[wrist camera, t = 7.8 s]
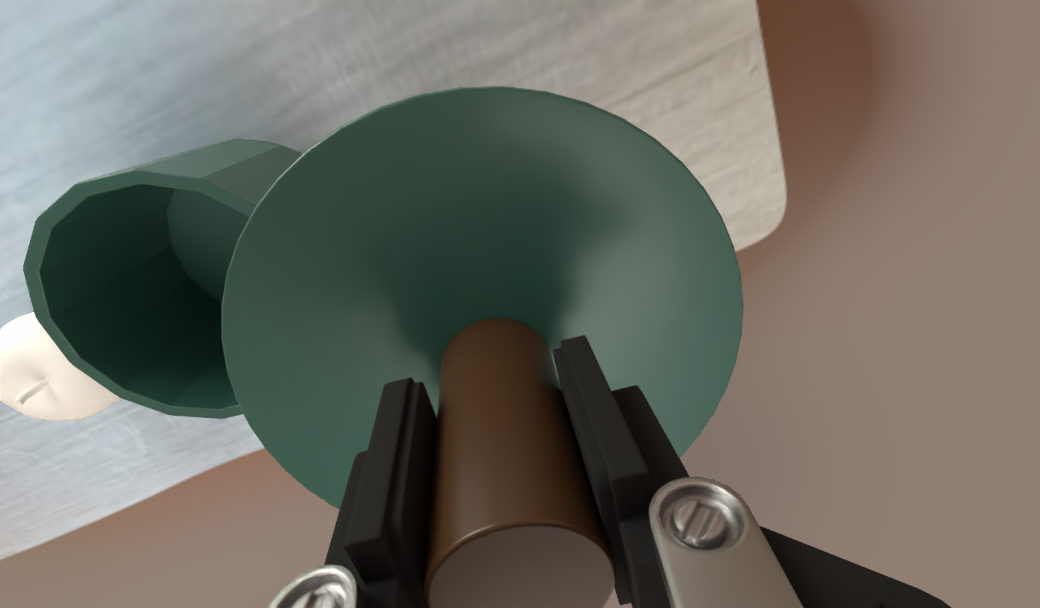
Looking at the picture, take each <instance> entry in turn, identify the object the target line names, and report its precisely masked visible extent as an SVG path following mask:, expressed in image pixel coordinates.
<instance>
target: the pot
mask: <svg viewBox="0 0 1040 608" xmlns="http://www.w3.org/2000/svg"><path fill="white" fill-rule="evenodd" d="M301 155H302V154H300V153H298V152H296V151H294V150H292V149H290V148H287V147H284V146H281V145H278V144H274V143H270V142H265V141H257V140H243V139H234V140H230V141H226V142H221V143H217V144H213V145H209V146H205V147H201V148H197V149H194V150H190V151H187V152H183V153H180V154H176V155H173V156H169V157H166V158H162V159H159V160H155V161H152V162H148V163H145V164H141V165H138V166H134V167H131V168H127V169H124V170H120V171H117V172H113V173H110V174H106V175H103V176H99V177H96V178H92V179H89V180H85V181H82V182H78V183H77V184H75V185H74V186H72V187H71V188H70V189H69V190H68V191H67V192H66V193H65V194H63V195H62V196H61V197H60V198H59V199H58V200H57V201H56V202H55V203H53V204H52V205H51V206H50V207H49V208H48V209H47V210H46V211H44V212H43V213H42V214H41V215H40V216H39V217H38V218H37V220H36V222H35V225H34V229H33V233H32V236H31V240H30V243H29V247H28V251H27V254H26V258H25V262H24V265H23V267H24V268H23V271H24V275H25V278H26V282H27V286H28V290H29V294H30V298H31V302H32V306H33V309H34V313H35V317H36V318H37V320H38V322H39V323H40V324H41V326H42V327H43V328H44V330H45V331H46V332H47V334H48V335H49V336H50V338H51V339H52V340H53V341H54V343H55V344H56V345H57V347H58V348H59V349H60V351H61V352H62V353H63V355H64V356H65V357H66V359H67V360H68V361H69V362H70V363H71V364H72V365H73V366H75V367H76V368H77V369H79V370H80V371H82V372H83V373H85V374H86V375H87V376H89V377H90V378H92V379H93V380H95V381H96V382H97V383H99V384H100V385H102V386H103V387H105V388H106V389H107V390H109V391H110V392H112V393H113V394H114V395H116V396H118V397H120V398H123V399H125V400H128V401H131V402H134V403H137V404H140V405H142V406H145V407H148V408H151V409H154V410H157V411H159V412H162V413H165V414H168V415H173V416H188V417H203V418H218V419H223V418H228V417H233V416H237V415H241V414H244V413H243V411H242V409H241V407H240V406H239V404H238V402H237V400H236V397H235V394H234V391H233V388H232V385H231V382H230V379H229V376H228V373H227V369H226V363H225V357H224V351H223V345H222V300H223V294H224V288H225V281H226V275H227V271H228V268H229V265H230V262H231V259H232V256H233V253H234V250H235V247H236V244H237V242H238V239H239V237H240V235H241V233H242V232H243V230H244V228H245V226H246V224H247V222H248V220H249V218H250V217H251V215H252V213H253V211H254V209H255V207H256V206H257V205H258V203H259V202H260V201H261V199H262V198H263V197H264V196H265V194H266V193H267V192H268V190H269V189H270V188H271V186H272V185H273V184H274V182H275V181H276V180H277V178H278V177H279V176H280V175H281V174H282V173H283V172H285V171H286V170H287V169H288V168H289V167H290V166H291V165H292V164H293V163H294V162H295V161H296V160H297V159H298V158H299V157H300V156H301Z"/></svg>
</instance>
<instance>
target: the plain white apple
mask: <svg viewBox="0 0 1040 608" xmlns="http://www.w3.org/2000/svg"><path fill="white" fill-rule="evenodd" d="M119 398H120V397H118V396H116V395H114V394H113V393H112V392H110V391H109V390H107V389H106V388H105V387H103V386H102V385H100V384H99V383H97V382H96V381H95V380H93V379H92V378H90V377H89V376H87V375H86V374H85V373H83V372H82V371H80V370H79V369H77V368H76V367H75V366H73V365H72V364H71V363H70V362H69V361H68V360H67V359H66V357H65V356H64V355H63V353H62V352H61V351H60V349H59V348H58V347H57V345H56V344H55V343H54V341H53V340H52V339H51V338H50V336H49V335H48V334H47V332H46V331H45V330H44V328H43V327H42V326H41V324H40V323H39V322H38V320H37V318H36V317H35V313H34V312H33V313H30V314H27V315H23V316H20V317H18V318H16V319H14V320H13V321H11V322H9V323H8V324H6V325H4V326H3V327H2V328H1V329H0V401H1V402H3V403H5V404H7V405H8V406H10V407H12V408H13V409H15V410H16V411H18V412H20V413H22V414H24V415H26V416H28V417H31V418H37V419H43V420H63V421H67V420H76V419H82V418H86V417H88V416H91V415H93V414H95V413H98V412H100V411H102V410H103V409H105V408H107V407H108V406H110V405H111V404H113V403H114V402H116V401H117V400H118V399H119Z"/></svg>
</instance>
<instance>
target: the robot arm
mask: <svg viewBox="0 0 1040 608" xmlns="http://www.w3.org/2000/svg"><path fill="white" fill-rule="evenodd" d="M553 355H554V360H555V364H556V369H557V373H558V378H559V382H560V387H561V391H562V395H563V398H564V401H565V404H566V408H567V411H568V414H569V418H570V421H571V424H572V427H573V431H574V434H575V437H576V440H577V444H578V447H579V450H580V453H581V457H582V460H583V463H584V466H585V470H586V473H587V476H588V479H589V483H590V486H591V489H592V492H593V496H594V499H595V502H596V505H597V509H598V512H599V515H600V518H601V522H602V525H603V528H604V532H605V535H606V538H607V541H608V543H609V545H610V548H611V551H612V554H613V557H614V561H615V564H616V580H615V586H614V587H615V591H616V594H617V598H618V601H619V604H620V605H624V604H628V603H631V604H632V607H633V608H951V607H950V606H948V605H947V604H946V603H944V602H943V601H942V600H940V599H938V598H936V597H934V596H932V595H930V594H928V593H926V592H924V591H922V590H920V589H918V588H915V587H913V586H910V585H908V584H905V583H903V582H900V581H898V580H895V579H893V578H890V577H888V576H885V575H882V574H880V573H877V572H875V571H872V570H870V569H867V568H865V567H862V566H860V565H857V564H855V563H852V562H850V561H847V560H844V559H842V558H839V557H837V556H834V555H832V554H829V553H827V552H824V551H822V550H819V549H817V548H814V547H812V546H809V545H807V544H804V543H802V542H799V541H797V540H794V539H792V538H789V537H786V536H784V535H781V534H779V533H776V532H774V531H771V530H769V529H766V528H764V527H761V526H759V525H758V523H757V522H756V520H755V518H754V516H753V514H752V513H751V510H750V508H749V507H748V505H747V504H746V503H745V501H744V500H743V499H742V497H741V496H740V495H739V494H738V493H736V492H735V491H734V490H732V489H731V488H730V487H728V486H727V485H725V484H722V483H720V482H718V481H715V480H713V479H708V478H702V477H690V476H689V475H688V473H687V471H686V469H685V468H684V466H683V464H682V462H681V460H680V459H679V457H678V455H677V453H676V451H675V450H674V448H673V446H672V444H671V442H670V441H669V439H668V437H667V435H666V433H665V432H664V430H663V428H662V426H661V425H660V423H659V421H658V419H657V417H656V416H655V414H654V412H653V410H652V408H651V407H650V405H649V403H648V401H647V400H646V398H645V396H644V394H643V392H642V391H641V389H640V388H639V386H637V385H634V386H630V387H626V388H622V389H617V390H613V391H611V389H610V387H609V385H608V383H607V380H606V378H605V376H604V374H603V372H602V370H601V368H600V365H599V363H598V361H597V359H596V357H595V355H594V352H593V350H592V348H591V346H590V344H589V342H588V339H587V337H586V336H585V335H582V336H578V337H574V338H570V339H566V340H561V348H557V349H553ZM436 425H437V417H436V415H435V412H434V409H433V407H432V404H431V401H430V399H429V396H428V393H427V391H426V388H425V386H424V384H423V382H417V383H415V382H414V380H413V379H412V378H411V377H410V378H406V379H402V380H397V381H393V382H389V383H386V384H385V385H384V387H383V391H382V395H381V399H380V403H379V407H378V411H377V415H376V419H375V423H374V427H373V430H372V434H371V438H370V442H369V446H368V450H367V451H363V452H359V453H358V454H357V455H356V457H355V459H354V461H353V465H352V469H351V472H350V476H349V479H348V483H347V486H346V490H345V493H344V497H343V500H342V504H341V507H340V511H339V515H338V518H337V522H336V525H335V529H334V533H333V536H332V539H331V543H330V546H329V550H328V554H327V557H326V561H325V564H324V566H318V567H315V568H313V569H311V570H308V571H306V572H304V573H302V574H301V575H299V576H298V577H296V578H295V579H294V580H292V581H291V582H289V584H287V585H286V586H285V587H284V588H283V589H282V590H281V591H280V592H279V593H278V594H277V595H276V597H275V598H274V600H273V601H272V602H271V604H270V605H269V607H268V608H427V605H426V603H425V597H424V582H425V569H426V556H427V543H428V529H429V516H430V503H431V490H432V477H433V464H434V451H435V438H436Z"/></svg>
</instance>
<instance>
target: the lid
mask: <svg viewBox="0 0 1040 608" xmlns="http://www.w3.org/2000/svg"><path fill="white" fill-rule="evenodd" d="M742 319H743V295H742V285H741V275H740V271H739V267H738V262H737V258H736V254H735V250H734V246H733V243H732V241H731V238H730V236H729V234H728V231H727V229H726V226H725V224H724V221H723V219H722V217H721V215H720V213H719V212H718V210H717V208H716V207H715V205H714V203H713V202H712V200H711V198H710V197H709V195H708V194H707V192H706V190H705V189H704V187H703V186H702V185H701V184H700V183H699V181H698V180H697V179H696V178H695V177H694V176H693V174H692V173H691V172H690V171H689V170H688V168H687V167H686V166H685V165H684V164H683V163H682V162H681V161H680V160H679V159H678V158H677V157H676V156H674V155H673V154H672V153H671V152H670V151H669V150H668V149H666V148H665V147H664V146H663V145H662V144H661V143H659V142H658V141H657V140H656V139H655V138H653V137H652V136H650V135H649V134H647V133H645V132H644V131H642V130H641V129H639V128H637V127H636V126H634V125H633V124H631V123H629V122H628V121H626V120H625V119H623V118H621V117H619V116H616V115H614V114H612V113H610V112H607V111H605V110H603V109H600V108H598V107H596V106H593V105H591V104H589V103H587V102H583V101H579V100H576V99H572V98H568V97H565V96H561V95H557V94H554V93H550V92H546V91H540V90H532V89H523V88H515V87H507V86H484V87H459V88H453V89H447V90H441V91H435V92H430V93H424V94H419V95H416V96H413V97H410V98H407V99H404V100H401V101H398V102H394V103H391V104H388V105H385V106H382V107H380V108H377V109H375V110H373V111H371V112H369V113H367V114H365V115H363V116H361V117H359V118H357V119H355V120H353V121H351V122H349V123H347V124H345V125H343V126H341V127H339V128H338V129H337V130H335V131H334V132H332V133H331V134H329V135H328V136H326V137H325V138H324V139H322V140H321V141H319V142H318V143H316V144H315V145H314V146H312V147H311V148H309V149H308V150H307V151H306V152H304V153H303V154H302V155H301V156H300V157H299V158H298V159H297V160H296V161H295V162H294V163H293V164H292V165H291V166H290V167H289V168H288V169H287V170H286V171H285V172H283V173H282V174H281V175H280V176H279V177H278V178H277V180H276V181H275V182H274V184H273V185H272V186H271V188H270V189H269V190H268V192H267V193H266V194H265V196H264V197H263V198H262V199H261V201H260V202H259V203H258V205H257V206H256V207H255V209H254V211H253V213H252V215H251V217H250V218H249V220H248V222H247V224H246V226H245V228H244V230H243V232H242V233H241V235H240V237H239V239H238V242H237V244H236V247H235V250H234V253H233V256H232V259H231V262H230V265H229V268H228V271H227V275H226V281H225V288H224V294H223V300H222V345H223V351H224V357H225V363H226V369H227V373H228V376H229V379H230V382H231V385H232V388H233V391H234V394H235V397H236V400H237V402H238V404H239V406H240V407H241V409H242V411H243V413H244V415H245V417H246V419H247V421H248V423H249V425H250V427H251V428H252V430H253V431H254V433H255V434H256V435H257V437H258V438H259V440H260V441H261V443H262V444H263V446H264V447H265V448H266V450H267V451H268V452H269V453H270V454H271V455H272V456H273V457H274V459H275V460H276V461H277V462H278V463H279V464H280V465H281V466H282V467H283V468H284V469H285V471H286V472H288V473H289V474H290V475H291V476H292V477H294V478H295V479H296V480H297V481H298V482H299V483H301V484H302V485H303V486H304V487H305V488H306V489H308V490H309V491H311V492H312V493H314V494H315V495H317V496H318V497H320V498H321V499H323V500H324V501H326V502H327V503H329V504H330V505H332V506H334V507H335V508H338V509H339V510H340V507H341V504H342V500H343V497H344V493H345V490H346V486H347V483H348V479H349V476H350V472H351V469H352V465H353V461H354V459H355V457H356V455H357V454H358V453H359V452H363V451H367V450H368V446H369V442H370V438H371V434H372V430H373V427H374V423H375V419H376V415H377V411H378V407H379V403H380V399H381V395H382V391H383V387H384V385H385V384H386V383H389V382H393V381H397V380H402V379H406V378H410V377H411V378H412V379H413V380H414V382H415V383H417V382H423V384H424V386H425V388H426V391H427V393H428V396H429V399H430V401H431V404H432V407H433V409H434V412H435V415H436V417H437V425H436V438H435V451H434V464H433V477H432V490H431V503H430V516H429V529H428V543H427V556H426V569H425V582H424V597H425V603H426V605H427V608H604V606H605V605H606V603H607V602H608V600H609V599H610V596H611V594H612V592H613V589H614V586H615V580H616V564H615V561H614V557H613V554H612V551H611V548H610V545H609V543H608V541H607V538H606V535H605V532H604V528H603V525H602V522H601V518H600V515H599V512H598V509H597V505H596V502H595V499H594V496H593V492H592V489H591V486H590V483H589V479H588V476H587V473H586V470H585V466H584V463H583V460H582V457H581V453H580V450H579V447H578V444H577V440H576V437H575V434H574V431H573V427H572V424H571V421H570V418H569V414H568V411H567V408H566V404H565V401H564V398H563V395H562V391H561V387H560V382H559V378H558V373H557V369H556V364H555V360H554V355H553V349H557V348H561V340H566V339H570V338H574V337H578V336H582V335H585V336H586V337H587V339H588V342H589V344H590V346H591V348H592V350H593V352H594V355H595V357H596V359H597V361H598V363H599V365H600V368H601V370H602V372H603V374H604V376H605V378H606V380H607V383H608V385H609V387H610V389H611V391H613V390H617V389H622V388H626V387H630V386H634V385H637V386H639V388H640V389H641V391H642V392H643V394H644V396H645V398H646V400H647V401H648V403H649V405H650V407H651V408H652V410H653V412H654V414H655V416H656V417H657V419H658V421H659V423H660V425H661V426H662V428H663V430H664V432H665V433H666V435H667V437H668V439H669V441H670V442H671V444H672V446H673V448H674V450H675V451H676V453H677V455H678V457H679V458H680V457H681V456H682V455H683V454H684V453H685V452H686V451H687V450H688V448H689V447H690V446H691V445H692V443H693V442H694V441H695V440H696V439H697V438H698V436H699V435H700V434H701V432H702V431H703V429H704V428H705V426H706V425H707V423H708V422H709V420H710V418H711V417H712V416H713V414H714V412H715V410H716V409H717V406H718V405H719V402H720V401H721V398H722V397H723V394H724V392H725V391H726V389H727V386H728V383H729V380H730V377H731V375H732V372H733V369H734V365H735V363H736V359H737V354H738V349H739V344H740V339H741V335H742Z"/></svg>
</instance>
